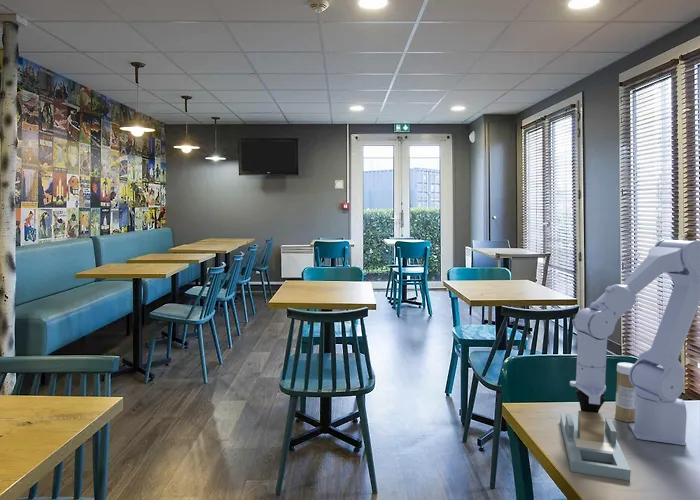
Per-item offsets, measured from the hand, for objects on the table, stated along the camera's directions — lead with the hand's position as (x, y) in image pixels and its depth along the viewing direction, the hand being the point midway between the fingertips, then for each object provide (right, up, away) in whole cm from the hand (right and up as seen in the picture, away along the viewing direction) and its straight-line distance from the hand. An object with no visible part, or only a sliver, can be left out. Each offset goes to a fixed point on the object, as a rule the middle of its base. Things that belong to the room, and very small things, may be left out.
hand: (588, 425), depth 110 cm
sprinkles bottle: (+14, -3, +11) cm, 18 cm away
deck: (-1, -3, -4) cm, 5 cm away
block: (-1, -1, -3) cm, 4 cm away
